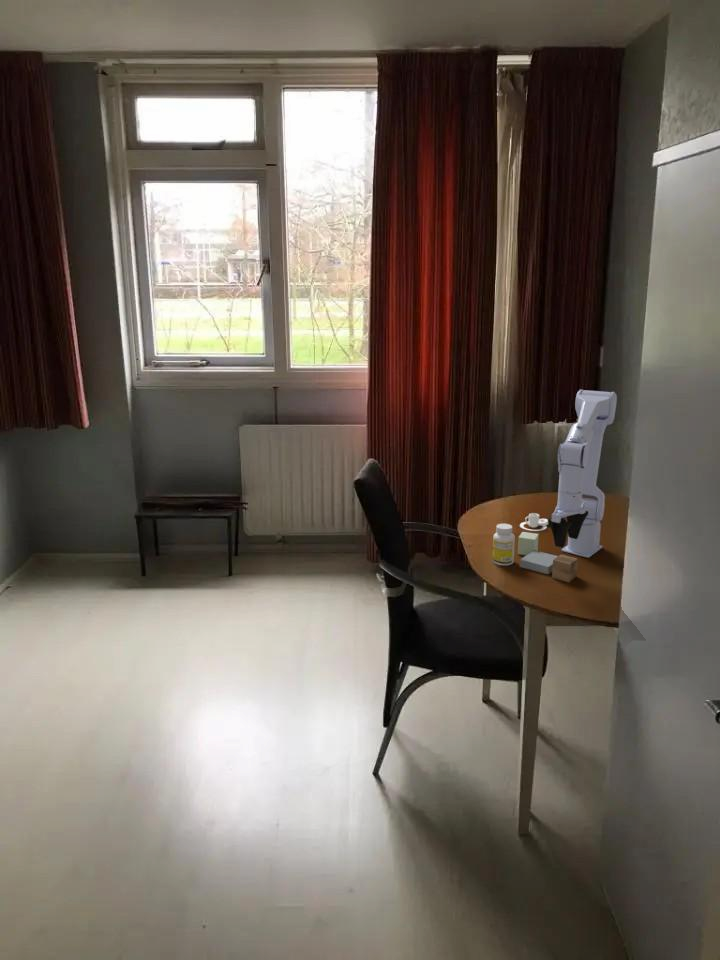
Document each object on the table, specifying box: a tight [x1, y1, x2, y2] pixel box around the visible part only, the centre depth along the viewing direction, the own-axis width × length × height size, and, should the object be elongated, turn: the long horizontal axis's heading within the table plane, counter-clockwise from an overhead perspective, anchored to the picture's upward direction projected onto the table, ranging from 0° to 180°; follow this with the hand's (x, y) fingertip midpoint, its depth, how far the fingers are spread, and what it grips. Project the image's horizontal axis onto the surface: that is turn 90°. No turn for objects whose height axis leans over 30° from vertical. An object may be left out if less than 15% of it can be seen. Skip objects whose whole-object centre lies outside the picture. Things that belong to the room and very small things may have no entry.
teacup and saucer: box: [519, 512, 549, 532], centre depth 230 cm, size 9×8×4 cm
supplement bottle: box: [492, 523, 516, 566], centre depth 204 cm, size 6×6×10 cm
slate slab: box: [519, 550, 559, 575], centre depth 203 cm, size 8×8×2 cm
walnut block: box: [551, 554, 579, 583], centre depth 195 cm, size 4×4×5 cm
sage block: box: [517, 531, 539, 556], centre depth 211 cm, size 4×4×5 cm
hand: (566, 542), depth 193 cm, fingers open, 7 cm apart
